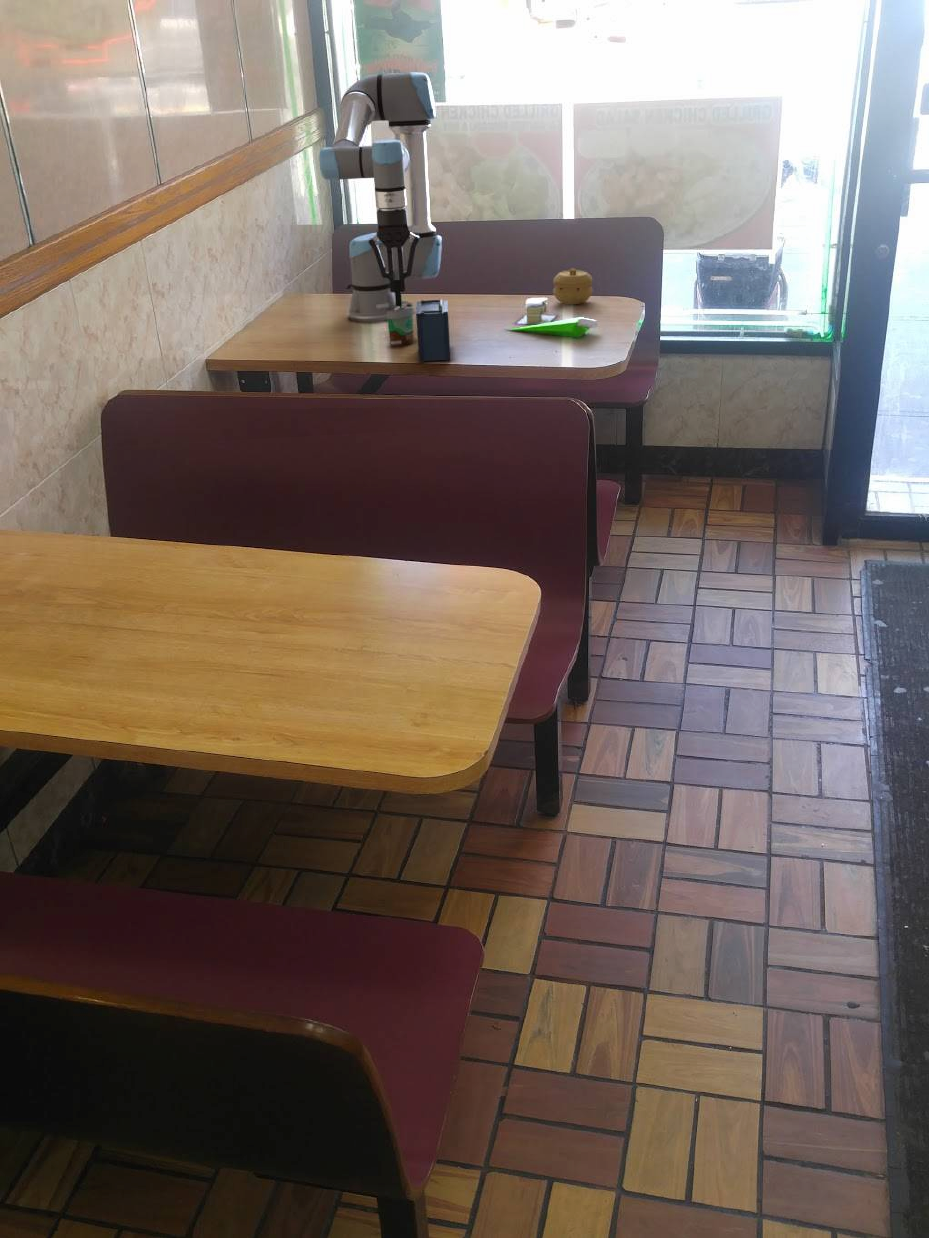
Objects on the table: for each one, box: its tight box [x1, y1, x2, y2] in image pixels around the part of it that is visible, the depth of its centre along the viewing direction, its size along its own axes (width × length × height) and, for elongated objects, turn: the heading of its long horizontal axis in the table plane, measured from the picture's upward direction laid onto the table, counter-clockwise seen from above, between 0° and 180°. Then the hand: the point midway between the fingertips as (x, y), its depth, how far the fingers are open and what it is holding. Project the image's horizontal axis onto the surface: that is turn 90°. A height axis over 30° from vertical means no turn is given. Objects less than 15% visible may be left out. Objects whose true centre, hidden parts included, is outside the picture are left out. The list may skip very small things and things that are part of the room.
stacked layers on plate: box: [516, 297, 557, 325], centre depth 321 cm, size 10×9×6 cm
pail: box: [415, 298, 451, 364], centre depth 293 cm, size 13×8×13 cm, turn 1°
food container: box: [387, 300, 416, 348], centre depth 306 cm, size 12×6×10 cm, turn 168°
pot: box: [552, 268, 594, 305], centre depth 336 cm, size 12×12×10 cm
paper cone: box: [509, 316, 599, 339], centre depth 308 cm, size 11×5×25 cm
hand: (398, 304), depth 289 cm, fingers closed
